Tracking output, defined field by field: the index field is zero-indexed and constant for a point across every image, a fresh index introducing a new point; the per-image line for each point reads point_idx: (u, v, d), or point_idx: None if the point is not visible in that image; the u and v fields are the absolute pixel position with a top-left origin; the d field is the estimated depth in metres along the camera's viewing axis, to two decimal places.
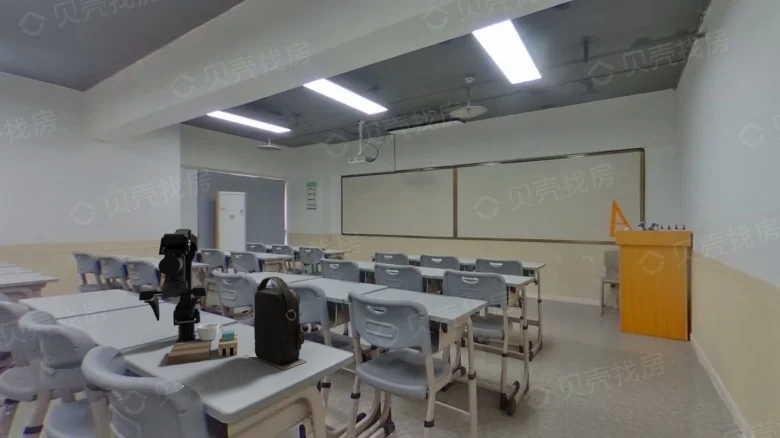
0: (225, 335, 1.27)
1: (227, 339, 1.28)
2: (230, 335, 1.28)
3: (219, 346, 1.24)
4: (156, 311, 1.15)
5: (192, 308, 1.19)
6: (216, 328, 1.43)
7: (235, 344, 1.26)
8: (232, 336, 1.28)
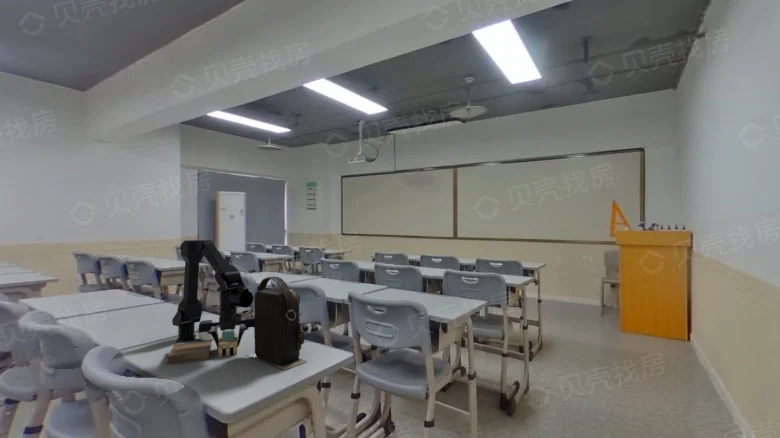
0: (225, 335, 1.27)
1: (227, 339, 1.28)
2: (230, 335, 1.28)
3: (219, 346, 1.24)
4: (217, 341, 1.27)
5: (240, 338, 1.30)
6: None
7: (235, 344, 1.26)
8: (232, 336, 1.28)
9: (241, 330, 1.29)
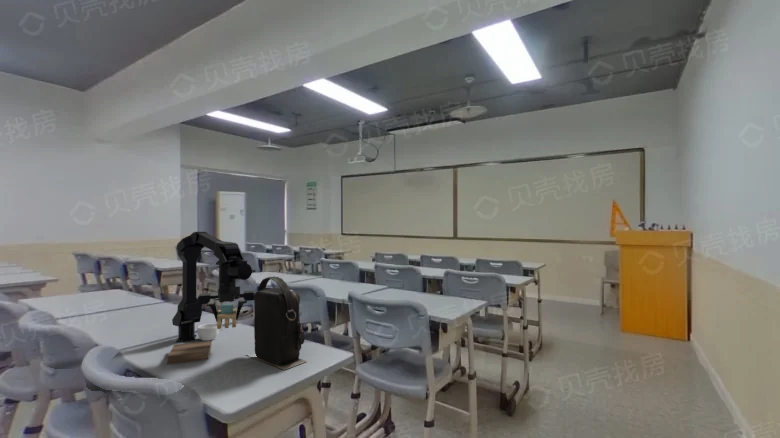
0: (224, 307, 1.28)
1: (226, 312, 1.28)
2: (229, 308, 1.28)
3: (218, 318, 1.24)
4: (216, 313, 1.27)
5: (238, 311, 1.30)
6: (216, 328, 1.43)
7: (234, 316, 1.26)
8: (231, 309, 1.28)
9: (240, 303, 1.29)
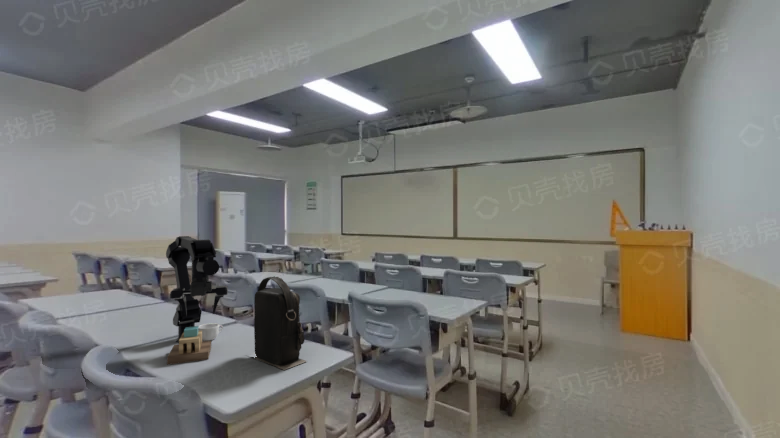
0: (187, 331, 1.23)
1: (189, 335, 1.24)
2: (193, 331, 1.24)
3: (180, 342, 1.20)
4: (184, 308, 1.31)
5: (215, 305, 1.35)
6: (216, 328, 1.43)
7: (197, 340, 1.22)
8: (195, 332, 1.24)
9: (216, 297, 1.34)
